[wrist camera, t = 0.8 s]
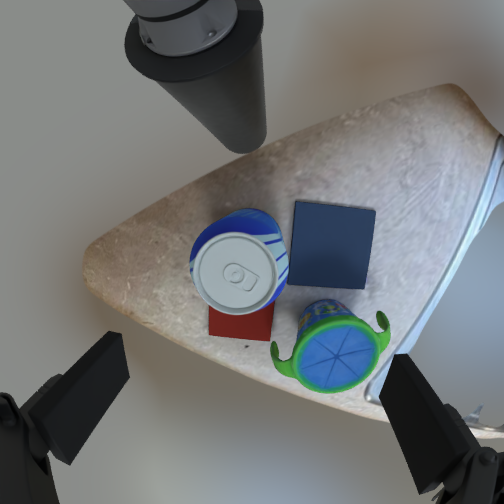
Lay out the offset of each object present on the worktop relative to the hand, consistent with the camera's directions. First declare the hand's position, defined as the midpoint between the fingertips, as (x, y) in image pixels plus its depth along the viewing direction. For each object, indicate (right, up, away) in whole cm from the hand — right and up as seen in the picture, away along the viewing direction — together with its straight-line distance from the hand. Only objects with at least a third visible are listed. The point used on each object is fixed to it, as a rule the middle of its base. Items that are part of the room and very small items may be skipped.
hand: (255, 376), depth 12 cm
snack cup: (+10, -4, +27) cm, 29 cm away
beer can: (0, +7, +25) cm, 26 cm away
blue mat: (+10, +6, +24) cm, 27 cm away
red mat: (-2, -3, +27) cm, 27 cm away
